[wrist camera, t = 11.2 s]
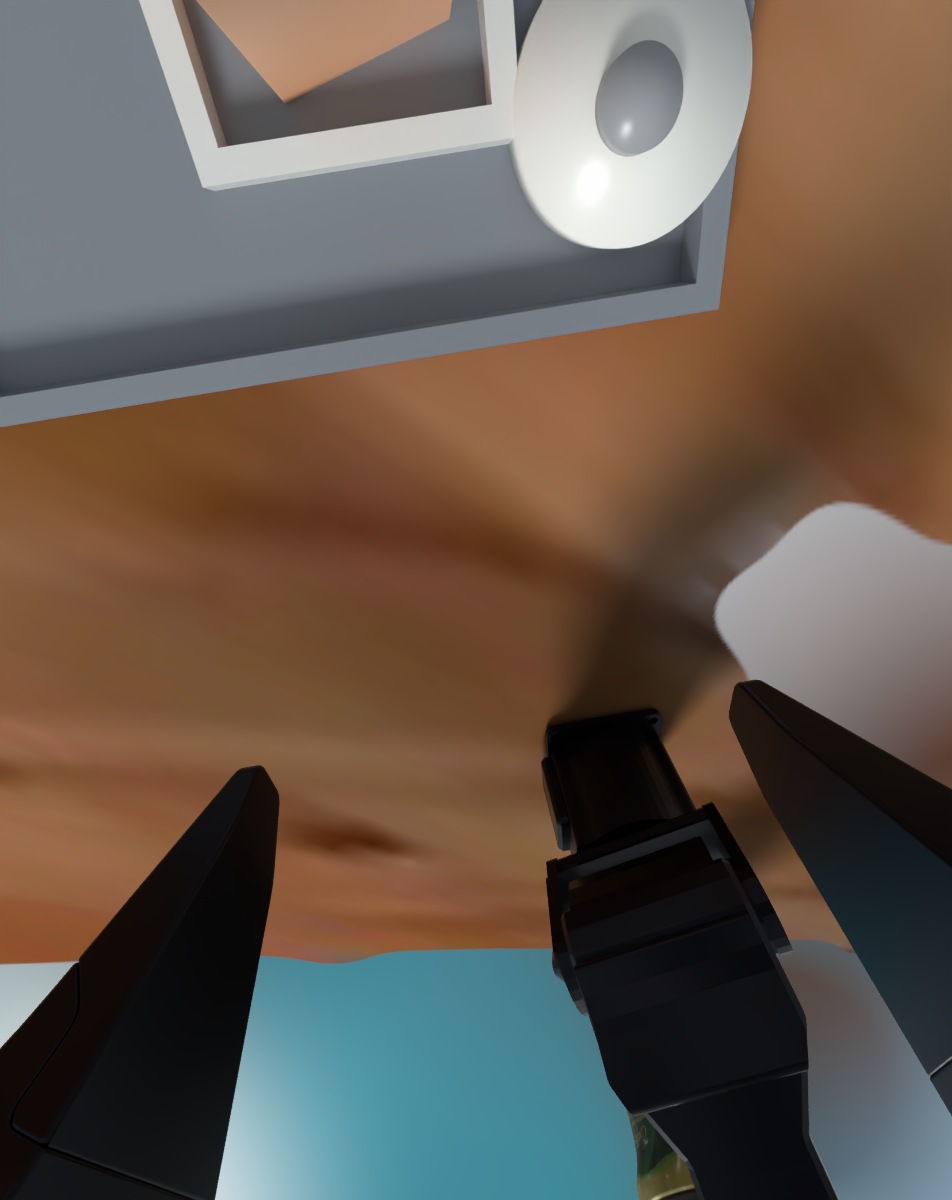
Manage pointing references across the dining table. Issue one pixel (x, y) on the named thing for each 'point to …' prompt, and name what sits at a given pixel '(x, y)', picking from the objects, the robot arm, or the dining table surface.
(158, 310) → the grey rectangular tray
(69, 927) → the dining table surface
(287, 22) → the block
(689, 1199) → the coffee jar
